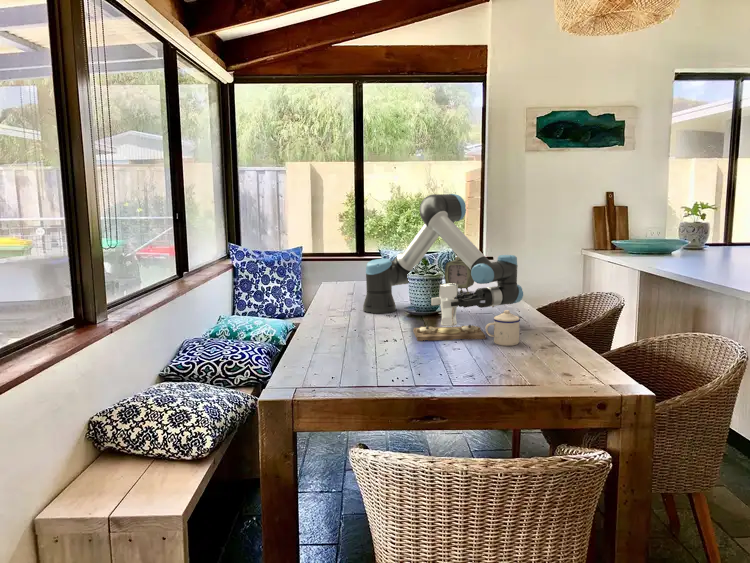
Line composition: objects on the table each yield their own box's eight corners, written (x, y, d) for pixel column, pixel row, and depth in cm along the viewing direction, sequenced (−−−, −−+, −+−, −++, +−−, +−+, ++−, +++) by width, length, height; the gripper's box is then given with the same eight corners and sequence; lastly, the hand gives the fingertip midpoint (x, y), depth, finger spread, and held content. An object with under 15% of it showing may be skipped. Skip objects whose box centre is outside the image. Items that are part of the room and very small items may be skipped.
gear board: (417, 340, 203) (417, 330, 202) (413, 331, 217) (413, 322, 216) (485, 338, 204) (485, 329, 203) (477, 329, 218) (477, 320, 217)
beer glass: (460, 322, 211) (460, 283, 209) (455, 326, 205) (455, 286, 203) (442, 321, 214) (442, 282, 212) (436, 325, 208) (436, 285, 206)
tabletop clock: (444, 293, 299) (444, 247, 296) (450, 291, 307) (450, 245, 303) (470, 295, 293) (470, 248, 289) (475, 293, 300) (476, 246, 297)
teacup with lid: (515, 339, 202) (516, 307, 201) (522, 345, 193) (523, 312, 192) (482, 340, 202) (483, 308, 201) (488, 346, 193) (488, 313, 192)
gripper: (503, 310, 208) (452, 317, 198) (472, 302, 225) (423, 308, 215) (504, 291, 207) (452, 297, 197) (472, 284, 224) (423, 289, 214)
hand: (437, 303), depth 206 cm, fingers closed on beer glass, 7 cm apart
